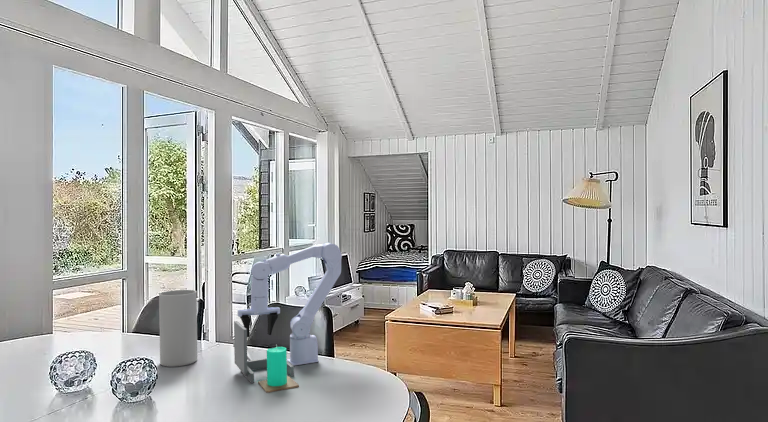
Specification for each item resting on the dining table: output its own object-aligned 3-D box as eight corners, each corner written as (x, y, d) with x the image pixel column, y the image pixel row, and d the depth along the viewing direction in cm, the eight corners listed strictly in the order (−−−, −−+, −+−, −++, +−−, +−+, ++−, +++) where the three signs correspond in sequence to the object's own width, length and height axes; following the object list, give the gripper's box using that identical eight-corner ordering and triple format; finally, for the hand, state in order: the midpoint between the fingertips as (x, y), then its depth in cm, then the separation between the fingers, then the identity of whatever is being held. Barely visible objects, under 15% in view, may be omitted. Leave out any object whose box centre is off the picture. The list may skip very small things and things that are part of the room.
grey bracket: (280, 363, 182) (279, 315, 182) (293, 375, 169) (293, 323, 168) (233, 370, 174) (232, 320, 174) (244, 384, 161) (243, 329, 161)
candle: (287, 379, 164) (286, 341, 163) (286, 385, 158) (285, 346, 158) (268, 380, 163) (267, 342, 163) (266, 386, 157) (265, 347, 157)
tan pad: (288, 377, 167) (288, 376, 167) (299, 386, 158) (299, 385, 158) (258, 382, 162) (258, 381, 162) (266, 392, 153) (266, 391, 153)
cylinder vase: (167, 369, 177) (166, 296, 177) (155, 362, 186) (154, 292, 186) (203, 362, 185) (202, 292, 185) (189, 355, 195) (188, 288, 194)
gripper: (276, 293, 187) (275, 331, 187) (235, 296, 180) (234, 335, 180) (282, 296, 181) (281, 335, 181) (240, 299, 174) (239, 339, 174)
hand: (258, 335), depth 180 cm, fingers open, 7 cm apart
